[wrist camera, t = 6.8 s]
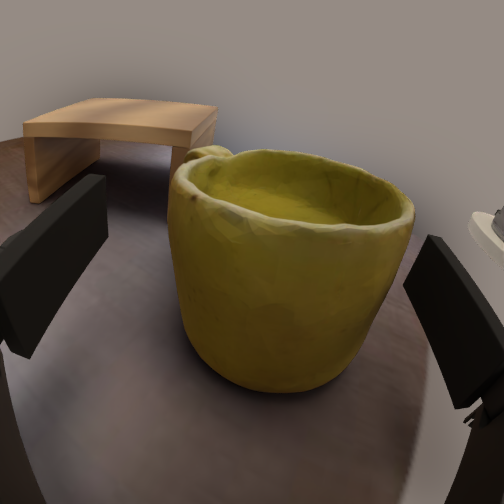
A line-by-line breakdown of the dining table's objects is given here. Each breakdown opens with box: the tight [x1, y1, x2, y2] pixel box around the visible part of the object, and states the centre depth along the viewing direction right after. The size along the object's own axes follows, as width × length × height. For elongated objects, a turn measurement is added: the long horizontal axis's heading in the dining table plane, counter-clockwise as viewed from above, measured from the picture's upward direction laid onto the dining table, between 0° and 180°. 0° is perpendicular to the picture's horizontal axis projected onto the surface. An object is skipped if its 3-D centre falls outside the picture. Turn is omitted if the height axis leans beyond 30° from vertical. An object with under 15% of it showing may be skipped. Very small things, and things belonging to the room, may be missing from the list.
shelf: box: [23, 98, 218, 224], centre depth 25 cm, size 14×12×7 cm
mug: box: [168, 145, 415, 393], centre depth 14 cm, size 12×10×10 cm
